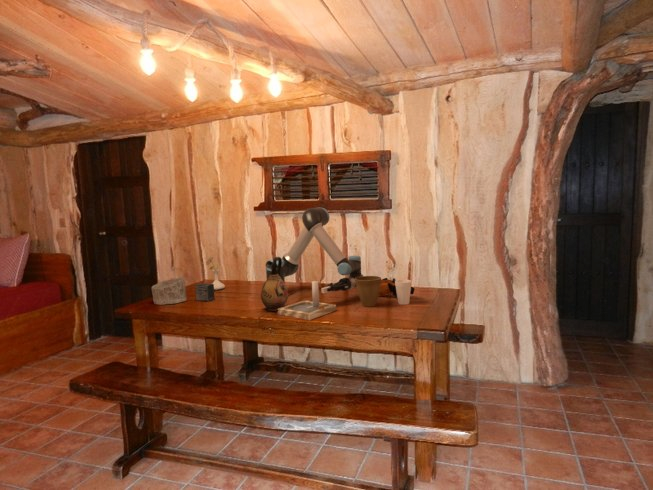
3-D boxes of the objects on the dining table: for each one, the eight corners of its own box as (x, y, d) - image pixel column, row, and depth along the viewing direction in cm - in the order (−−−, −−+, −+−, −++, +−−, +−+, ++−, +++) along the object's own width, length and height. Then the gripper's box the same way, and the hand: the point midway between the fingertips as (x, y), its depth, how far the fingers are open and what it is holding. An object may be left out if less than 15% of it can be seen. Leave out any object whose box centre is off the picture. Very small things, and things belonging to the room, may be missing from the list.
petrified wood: (148, 304, 279) (146, 281, 278) (167, 298, 295) (165, 276, 294) (173, 306, 273) (171, 282, 271) (191, 299, 289) (189, 276, 287)
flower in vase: (217, 287, 327) (215, 253, 324) (228, 288, 320) (226, 254, 318) (203, 290, 317) (201, 255, 314) (214, 292, 310) (211, 256, 307)
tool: (403, 311, 267) (412, 289, 262) (371, 294, 278) (379, 273, 273) (409, 308, 274) (417, 286, 269) (377, 291, 284) (385, 270, 280)
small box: (215, 299, 287) (214, 283, 286) (208, 301, 281) (207, 285, 280) (202, 298, 291) (201, 282, 290) (195, 300, 285) (194, 284, 284)
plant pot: (383, 302, 263) (382, 275, 261) (380, 308, 248) (379, 280, 247) (357, 301, 266) (357, 275, 264) (353, 308, 252) (352, 280, 250)
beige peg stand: (299, 317, 236) (298, 287, 234) (288, 310, 250) (286, 282, 248) (326, 312, 243) (325, 283, 241) (314, 306, 257) (312, 278, 256)
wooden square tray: (277, 314, 245) (277, 305, 244) (305, 305, 263) (304, 296, 262) (309, 320, 231) (309, 310, 230) (336, 310, 249) (336, 301, 248)
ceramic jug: (277, 313, 246) (274, 259, 243) (256, 310, 254) (253, 258, 251) (295, 306, 260) (293, 255, 257) (274, 304, 268) (272, 254, 265)
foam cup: (413, 301, 262) (412, 279, 260) (410, 305, 253) (410, 282, 252) (396, 300, 265) (396, 279, 263) (394, 304, 256) (393, 282, 255)
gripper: (355, 290, 268) (332, 298, 249) (338, 288, 276) (313, 296, 257) (355, 278, 267) (331, 285, 249) (337, 276, 275) (313, 283, 257)
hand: (322, 290), depth 253 cm, fingers closed
